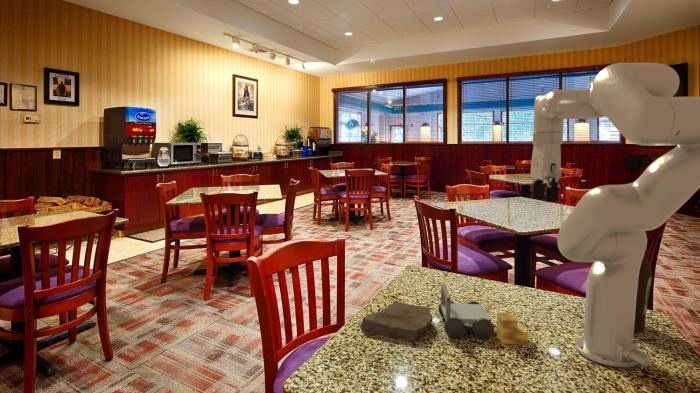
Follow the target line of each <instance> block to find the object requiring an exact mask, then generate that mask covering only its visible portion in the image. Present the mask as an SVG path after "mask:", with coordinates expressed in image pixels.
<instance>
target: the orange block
mask: <svg viewBox="0 0 700 393" xmlns="http://www.w3.org/2000/svg"><path fill="white" fill-rule="evenodd" d="M496 319H497V321H496V337H497V338H498V340H499V341H500V343H501V344H508V345H509V344H511V345H528V335H529V333H528V330H526V328H525V327H524V326H523V325H522V324H520V323H519V324H518V319H517V318H516V317H515V316H514V314H513V312H497V316H496Z"/></svg>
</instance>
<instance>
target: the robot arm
mask: <svg viewBox="0 0 700 393" xmlns="http://www.w3.org/2000/svg"><path fill="white" fill-rule="evenodd" d="M679 86H680V77H679V75H678V73H677V71H676V70H675V69H674V68H673V67H671V66H670V65H667V64H663V63H658V62H616V63H612V64H610V65H607V66H605V67H604V68H603V69H601V70H600V71H599V72H598V73H597V75H596V76H595V78H594V79H593V83H592V85H591V86H590V89H554V90H552V91H549V92H548V93H545V94H544V93H543V94H540V95H538V96H536V97H535V99H534V109H533V130H532V133H533V134H532V145H533V148H532V155H531V164H530V175H529V176H530V177H531V178H533V179H532V197H533V198H544V197H545V198H544V200H545V202H546V203H558V202H559V191H560V190H559V188H560V183H561V176H562V171H561V170H562V169H561V167H562V165H561V164H562V157H561V152H562V150H561V145H563V140H564V139H563V137H564V120H590V119H591V120H593V119H599V118H607V119H608V120H609V121H610V122H611V124H613V126H614V127H615V129H617V131H618V132H619V133H620V134H621V136H623V137H624V138H625V139H626V140H627V141H629V142H631V143H632V144H635V145H639V146H648V147H651V146H654V147H656V146H657V147H659V146H675V147H673V149H671V150H669V151H668V152H666V153H664V154H663V155H661V156H659V157H658V158H657V159H655V160H654V161H653V162H651V163H650V164H649V165H648V166H647V167H646V168H645V170H644V171H643V173H642V174H641V175H640V176H639V177H637V179H636V180H634V181H633V182H630V183H626V184H625V183H624V184H605V185H604V184H603V185H600V186H596V187H594V188H591V189H590V190H588V191H587V192H586V193H585V194H583V196H581V198H580V199H579V201H578V203H577V204H576V205H575V206H574V208H573V209H572V210H571V212H570V213H569V214H568V215H567V217H566V219H565V220H564V221H563V223H562V224H561V226H560V228H559V230H558V233H557V234H558V235H557V239H556V240H557V247H558V248H557V249H558V250H559V252H560V253H561V255H562V256H563V257H564V258H566V259H568V260H569V261H571V262H574V263H575V262H576V263H592V264H591V266H590V268H589V271H588V274H587V278H586V280H587V281H586V292H585V293H586V294H585V305H584V322H583V323H584V324H583V335H582V336H581V337H579V338H577V339H576V340H575V345H574V346H575V349H576V351H577V353H579V354H580V355H582V356H583V357H585V358H586V359H588V360H590V361H592V362H596V363H598V364H601V365H604V366H608V367H614V368H631V367H635V366H638V365H641V366H643V367H645V368H646V367H648V366H649V365H650V362H651V361H650V360H651V354H650V353H647V352H645V351H643V350H641V349H640V348H639V341H638V340H635V339H634V335H635V333H634V323H635V310H636V298H637V288H638V278H639V271H640V267H641V263H642V260H643V257H645V253H646V250H647V246H648V237H647V232H648V231H653V230H656V229H658V228H660V227H661V226H662V225H663V224H665V223H666V222H667V220H669V219H670V218H671V217H672V216H673V215H674V214H675V213H676V212H677V211H678V210H679V209H680V208H682V206H684V204H685V203H687V201H689V200H690V198H691V197H692V196H693V195H694V194H695V193H696V192H697V191H699V189H700V96H675V95H676V93H677V92H678V89H679ZM544 182H545V183H546V185H547V186H546V187H545V183H544Z"/></svg>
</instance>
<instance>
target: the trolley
mask: <svg viewBox="0 0 700 393" xmlns="http://www.w3.org/2000/svg"><path fill="white" fill-rule="evenodd" d="M451 298H452V297H451V295H450V293H449V290H448V288H447V286H446V284H445V283H441V285H440V304H438V313H439V315H440V317H442V319H444V320H445V322H444V324H443V328H444V331H445V334H446V336H448V337H449V338H451V339H459V338H461V337H463V335H464V334H465V332H466V325H465V324H470V325H471V324H472V331H473V333H474V336H476V337H477V338H478V339H481V340H487V339H490V338H491V337H492V336H494V333H495V327H494V325H493V323H492V319H491V317H490V316H489V314H488V312H487V311H486V309H485V308H484V306H483V304H482V303H480V302H478V301H476V300H470V301H467V303H454V302H453V301H452V299H451Z"/></svg>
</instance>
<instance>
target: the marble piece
mask: <svg viewBox="0 0 700 393" xmlns="http://www.w3.org/2000/svg"><path fill="white" fill-rule="evenodd" d="M433 320H434V318H433V315H432V313H431V310H430V308H429V307H427V306H424V305H423V306H421V305H415V304H410V303H405V302H402V301H401V302H400V301H393V302H392V303H390V304H389V305H388V306H387V307H385V308H383V309H382V310H380V311H377V312H373V313H370V314H366V315H365V316H363V317H362V320H361V323H360V324H361V325H360V329H361V331H364V332H367V333H372V334H376V335H381V336H386V337H389V338H390V337H391V338H395V339H399V340H400V339H401V340H404V341H408V342H414V341H415V339H417V338H418V337H421V336H422V335H423V333H424V332H426V331H428V330H429V327H430V325H431V323H432V322H433Z"/></svg>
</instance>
